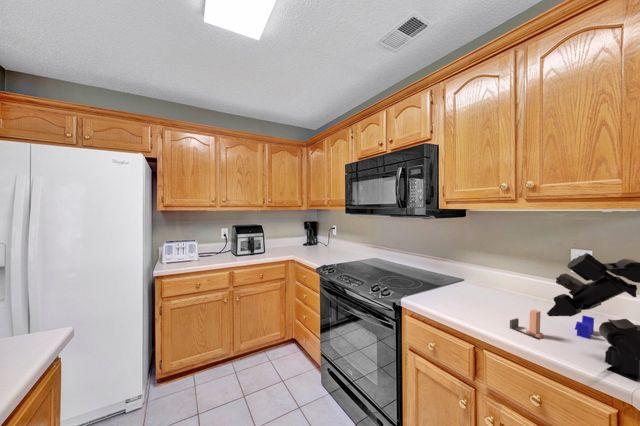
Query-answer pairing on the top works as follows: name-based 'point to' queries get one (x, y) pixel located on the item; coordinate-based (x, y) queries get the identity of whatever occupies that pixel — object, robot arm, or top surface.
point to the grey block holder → (514, 325)
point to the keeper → (535, 324)
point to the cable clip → (585, 327)
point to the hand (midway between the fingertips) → (554, 312)
